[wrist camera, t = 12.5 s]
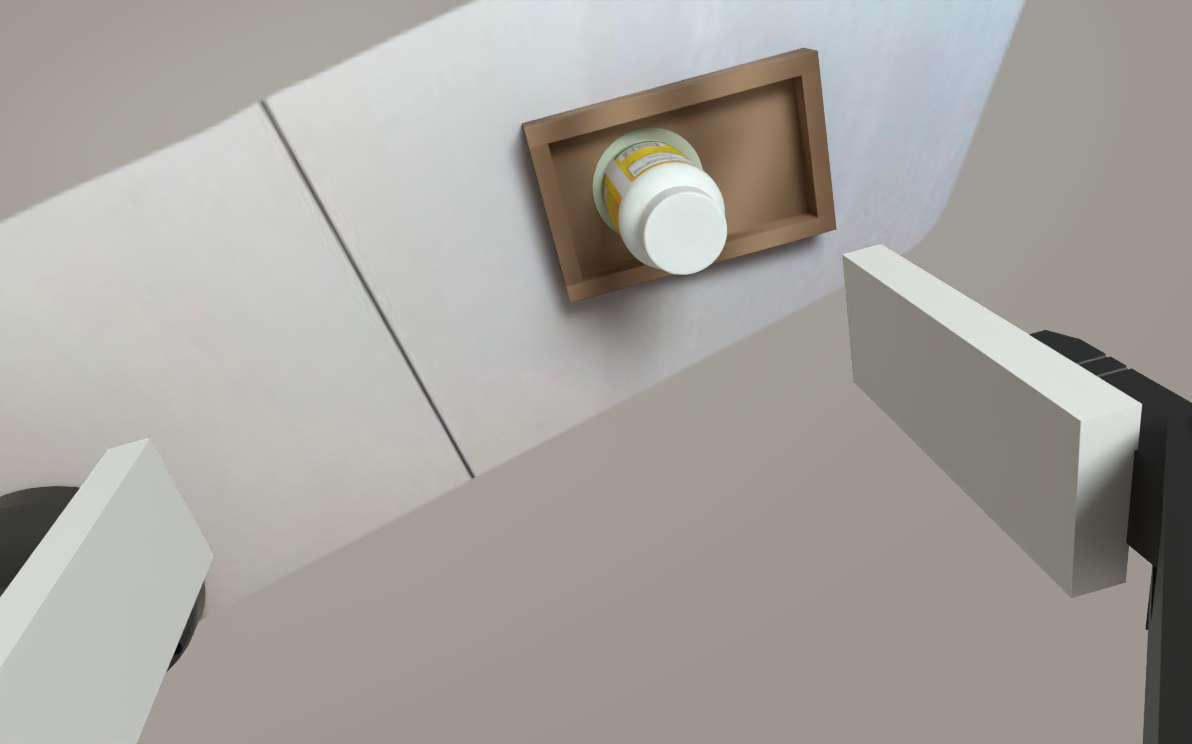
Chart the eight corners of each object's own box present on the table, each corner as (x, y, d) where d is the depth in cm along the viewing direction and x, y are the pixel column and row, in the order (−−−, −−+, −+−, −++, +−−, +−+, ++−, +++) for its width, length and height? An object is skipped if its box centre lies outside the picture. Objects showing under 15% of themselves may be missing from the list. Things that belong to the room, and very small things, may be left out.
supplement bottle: (632, 119, 46) (672, 152, 37) (710, 169, 47) (765, 212, 39) (580, 204, 47) (607, 254, 39) (658, 249, 49) (700, 307, 40)
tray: (566, 290, 50) (570, 302, 48) (521, 123, 45) (524, 129, 44) (822, 220, 50) (836, 229, 49) (803, 47, 46) (817, 50, 44)
